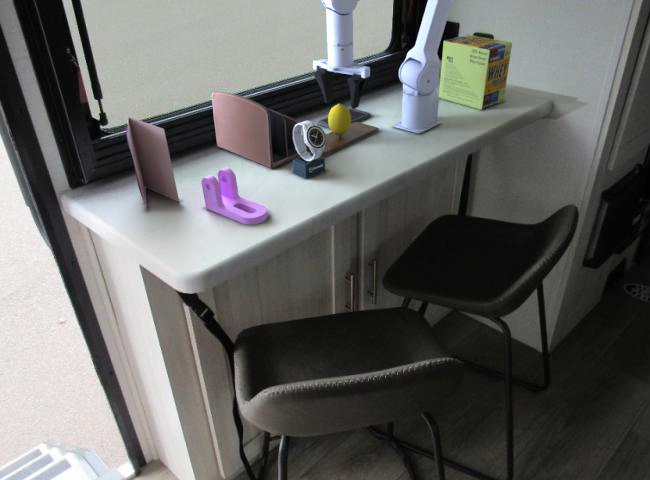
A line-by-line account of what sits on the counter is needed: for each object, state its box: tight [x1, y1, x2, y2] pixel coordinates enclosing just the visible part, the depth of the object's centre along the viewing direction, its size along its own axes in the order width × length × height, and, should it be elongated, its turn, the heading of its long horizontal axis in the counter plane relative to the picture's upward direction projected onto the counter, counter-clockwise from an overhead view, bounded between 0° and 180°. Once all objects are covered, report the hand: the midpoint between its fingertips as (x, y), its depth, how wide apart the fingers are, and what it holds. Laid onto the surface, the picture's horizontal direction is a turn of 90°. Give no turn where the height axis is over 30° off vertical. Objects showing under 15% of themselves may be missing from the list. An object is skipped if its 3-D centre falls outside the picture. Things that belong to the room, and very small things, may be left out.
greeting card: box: [124, 116, 180, 209], centre depth 113 cm, size 11×7×15 cm, turn 16°
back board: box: [304, 121, 380, 157], centre depth 139 cm, size 20×8×1 cm, turn 138°
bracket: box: [201, 167, 268, 225], centre depth 109 cm, size 13×6×7 cm, turn 52°
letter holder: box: [211, 91, 301, 170], centre depth 131 cm, size 10×20×14 cm, turn 47°
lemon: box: [327, 103, 351, 137], centre depth 136 cm, size 6×6×8 cm
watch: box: [292, 120, 327, 180], centre depth 121 cm, size 6×8×11 cm
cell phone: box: [317, 107, 372, 129], centre depth 150 cm, size 7×14×1 cm, turn 138°
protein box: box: [438, 34, 513, 111], centre depth 157 cm, size 10×15×16 cm
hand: (341, 104), depth 134 cm, fingers open, 7 cm apart
